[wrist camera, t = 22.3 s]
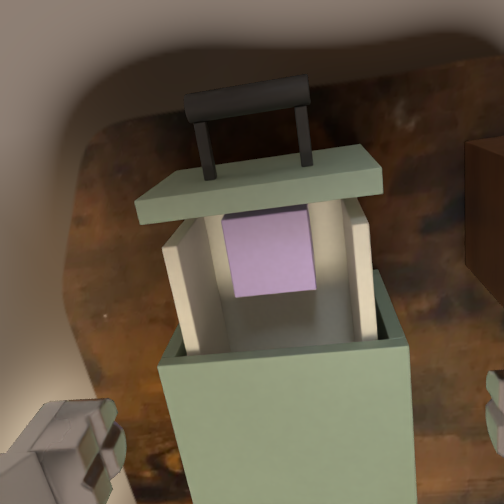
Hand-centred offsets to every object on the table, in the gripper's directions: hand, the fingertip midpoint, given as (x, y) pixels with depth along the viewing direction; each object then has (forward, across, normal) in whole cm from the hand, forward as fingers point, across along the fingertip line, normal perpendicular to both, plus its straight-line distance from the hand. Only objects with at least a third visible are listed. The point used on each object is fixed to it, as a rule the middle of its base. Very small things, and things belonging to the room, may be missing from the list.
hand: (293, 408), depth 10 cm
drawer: (+20, +2, +2) cm, 20 cm away
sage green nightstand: (+21, +2, +14) cm, 25 cm away
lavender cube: (+19, +2, +2) cm, 19 cm away
